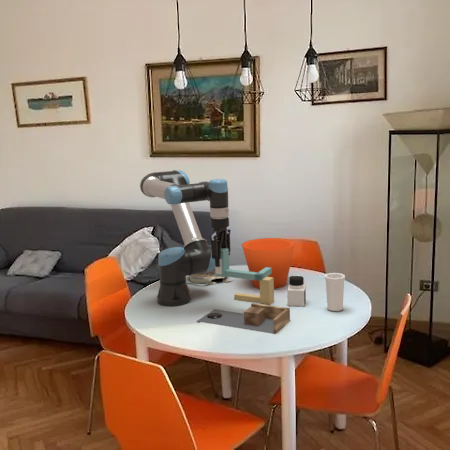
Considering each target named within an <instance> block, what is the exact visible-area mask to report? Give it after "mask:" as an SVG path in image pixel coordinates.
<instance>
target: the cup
mask: <svg viewBox="0 0 450 450" xmlns="http://www.w3.org/2000/svg"><path fill="white" fill-rule="evenodd" d="M324 279H325V290H326V291H325V292H326V304H327V308H326V309H327V310H328V311H332V312H340V311H342V310H343V308H344V294H345V293H344V290H345V280H346V275H345V274H343V273H340V272H330V273H326V274H324Z"/></svg>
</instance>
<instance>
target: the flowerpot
mask: <svg viewBox="0 0 450 450" xmlns="http://www.w3.org/2000/svg"><path fill="white" fill-rule="evenodd" d="M295 244H296V242H295V241H293V240H291V239H287V238H281V237H280V238H279V237H266V238H265V237H264V238H261V237H260V238H256V239H255V238H254V239H250V240H246V241H244V242H243V243H242V244H241V247H242V251H243V254H244V258H245V262H246V264H247V268H248V271H249V272H257V273H258V272H259V271H261V270H262V269H264V268H265V267H269V268H272V273H271V274H270V275H268V276H267V277H273V279H274V290H276V289H281V288H284V287H285V286H286V285H287V283H288V280H289V274H290V269H291V264H292V260H293V255H294V249H295V246H296V245H295ZM251 283H252V286H253V287H255V288H256V289H260V281H257V280H251Z"/></svg>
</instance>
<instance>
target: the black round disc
mask: <svg viewBox="0 0 450 450" xmlns="http://www.w3.org/2000/svg"><path fill="white" fill-rule="evenodd" d="M207 314H208V313H207ZM207 314H206V315H207ZM207 317H208V318H210V319H217V318H220V317H222V314H220V313H211V314H208V315H207Z"/></svg>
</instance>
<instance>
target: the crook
mask: <svg viewBox="0 0 450 450" xmlns="http://www.w3.org/2000/svg"><path fill="white" fill-rule="evenodd" d="M220 259H222V274H216V269H215V276H220V277H225V278H233V279H234V278H235V279H241V280H243V279H245V280H251V281H252V280H257V281H261V280H263V279H264V278H266V277H267V276H268V275H270V274H271V273H272V268H269V267H265V268H264V269H262V270H261V271H259V272H258V273H257V272H249V270H248V271H247V270H239V269H230V255H229V249H227V248H221V257H220ZM214 267H215V259H214Z"/></svg>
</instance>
